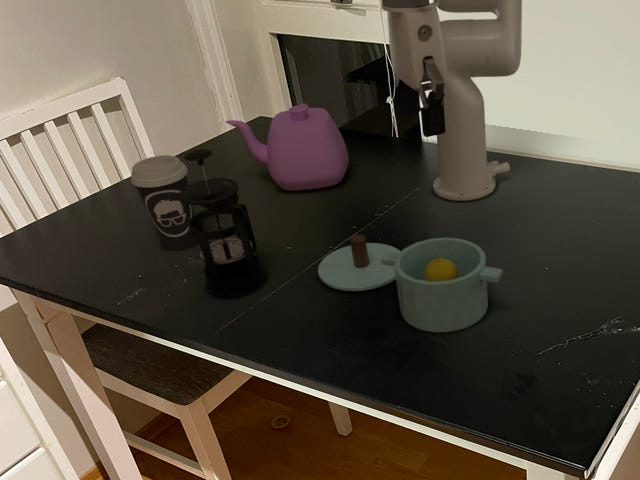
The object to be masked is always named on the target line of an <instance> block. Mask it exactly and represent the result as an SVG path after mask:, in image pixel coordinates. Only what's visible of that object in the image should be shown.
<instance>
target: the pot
mask: <svg viewBox="0 0 640 480" xmlns="http://www.w3.org/2000/svg"><path fill="white" fill-rule="evenodd" d="M400 251H401V252H400V253H393V252H387V253H386V254H385V255H384V256H383V257H382V258H381V264H382V265H388V266H394V268H395V276H396V279H395V282H396V289H397V296H398V303H399V311H400V313H401V317H403V320H404V321H405V322H406V323H407V324H408V325H410V326H412V327H413V328H415V329H418V330H420V331H425V332H429V333H450V332H455V331H456V332H457V331H460V330H463V329H466V328H468V327H470V326H473V325H474V324H476V323H478V322H479V321H480V320H481V319H482V318H483V317H484V316H485V315H486V313H487V311H488V307H489V302H488V301H489V300H488V282H489V283H496V284H498V283H499V281H500V279H501V278H502V276H503V275H504V273H503V271H504V270H503V268H497V267H493V266H492V267H491V266H487V261H486V259H487V258H486V253H485V252H484V250H483V249H482V248H481V247H480V246H479V245H478V244H476V243H474V242H471V241H469V240H466V239H462V238H455V237H448V236H447V237H434V238H429V239H424V240H421V241H420V240H419V241H417V242H415V243H413V244H410V245H408V246H407V247H405V248H403V249H402V250H400ZM438 258H444V259H448V260H449V261H451V262H452V263H453V264H454V265H455V266H456V268H457V270H458V273H459V277H460V278H456V279H453V280H449V281H436V282H429V281H424V273H425V269H426V267H427V265H428V264H429V263H430V262H431V261H433V260H435V259H438Z"/></svg>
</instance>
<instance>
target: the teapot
mask: <svg viewBox="0 0 640 480" xmlns="http://www.w3.org/2000/svg"><path fill="white" fill-rule="evenodd" d="M225 123H226V124H228V125H230V126H232V127H235V128H236V129H237V130H238V131H239V132H240V133H241V135H242V137H243V138H244V140H245V142H246V145H247V148H248V149H249V152H250V154H251V155H252V157H253V159H255V160H256V161H257V162H259V163H260V164H262V165H264V166H266V167H267V168H268V172H269V175H270V177H271V178H272V179H273V181H274V182H275V183H276V185H277V186H278V187H279V188H280V189H282V190H285V191H304V190H313V189H314V190H315V189H321V188H326V187H333V186H335V185H337V184H339V183H340V182H341V181H342V180H343V178H344V176H345V174H346V171H347V169H348V166H349V159H350V158H349V152H348V149H347V145H346V143H345V140H344V137H343V135H342V133H341V132H340V129H339V127H338V126H337V125H336V123H335V121H334V120H333V118H332V116H331V115H330V113H329V112H328V111H327V110H326V109H325V108H323V107H309V105H308V104H307V103H300V104H298V105H297V104H296V105H293V106H291V107H289V109H288V110H284V111H283V110H282V111H280V112H278V113H276V114H275V115H274V116H273V118H272V120H271V122H270V126H269V130H268V135H267V142H266V144H263V143H261V142H260V141H259V140H258V139H257V138H256V136H255V134H254V132H253V130H252V128H251V127H250V126H249V125H248V124H247V123H246V122H245V121H242V120H236V119H235V120H234V119H232V120H231V119H230V120H225Z"/></svg>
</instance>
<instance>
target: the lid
mask: <svg viewBox="0 0 640 480" xmlns="http://www.w3.org/2000/svg"><path fill="white" fill-rule="evenodd" d="M401 251H402V250H399V249H398V248H396V247H394V246H392V245H389V244H384V243H378V242H367V240H366V236H365V235H363V234H353V235H352V236H350V237H349V245H347V246H344V247H341V248H338V249H336V250H334V251H332V252H330V253H329V254H328V255H326V256H325V257H324V258H323V259H322V260H321V261H320V263H319V265H318V268H317V273H318V277H319V279H320V280H321V282H322V283H323V284H324V285H326V286H327V287H329V288H332V289H335V290H339V291H345V292H362V291H369V290H373V289H377V288H380V287H383V286H386V285H388V284H390V283H392V282H393V281H396V276H395V268H394V266H388V265H382V264H381V258H382V257H383V256H384V255H385V254H386V253H387V252H393V253H400V252H401Z"/></svg>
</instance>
